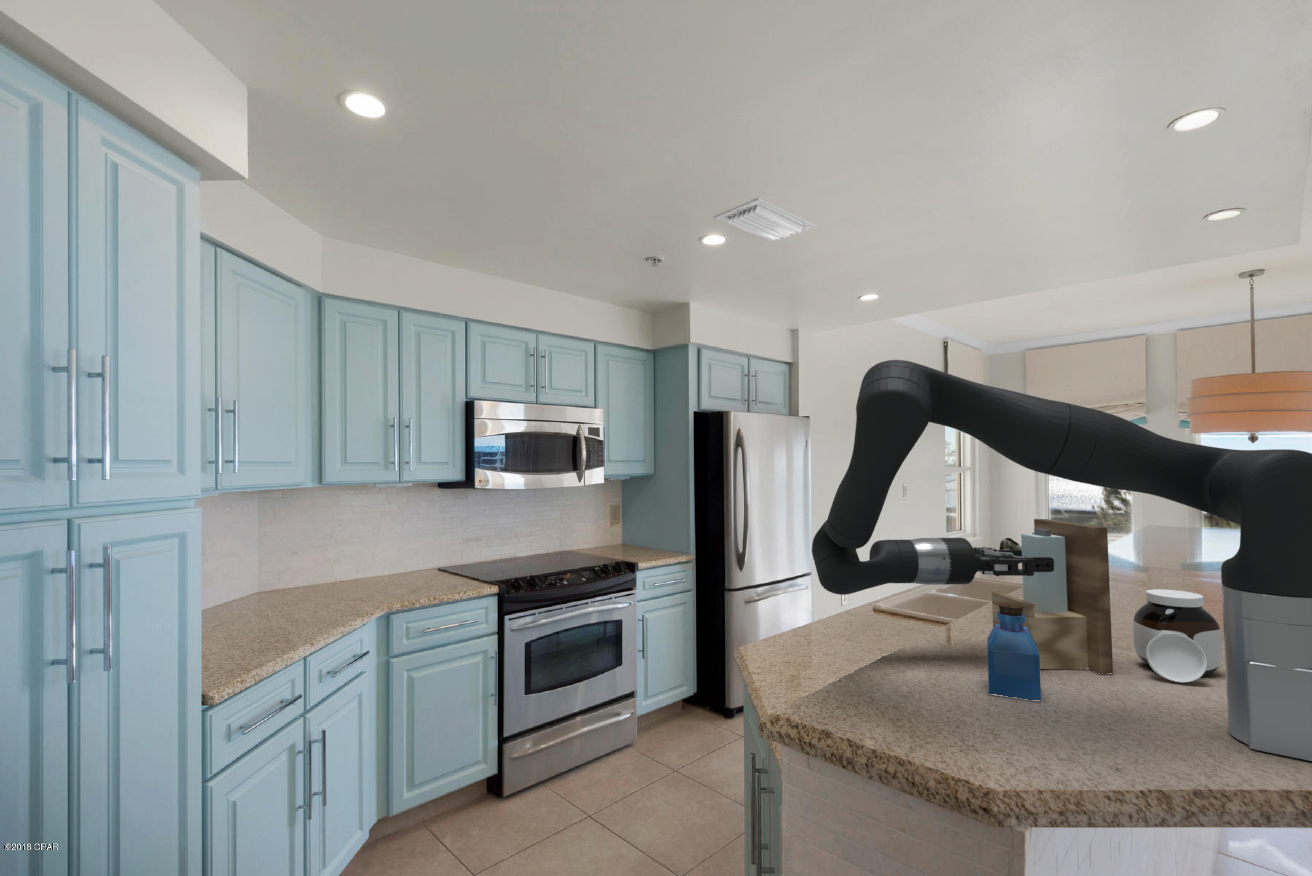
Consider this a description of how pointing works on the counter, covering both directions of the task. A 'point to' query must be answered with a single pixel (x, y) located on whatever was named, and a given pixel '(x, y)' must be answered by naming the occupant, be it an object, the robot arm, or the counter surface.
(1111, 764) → the counter surface
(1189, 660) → the spread jar
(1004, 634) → the perfume bottle
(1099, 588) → the cleat board
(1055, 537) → the pale blue tall block
